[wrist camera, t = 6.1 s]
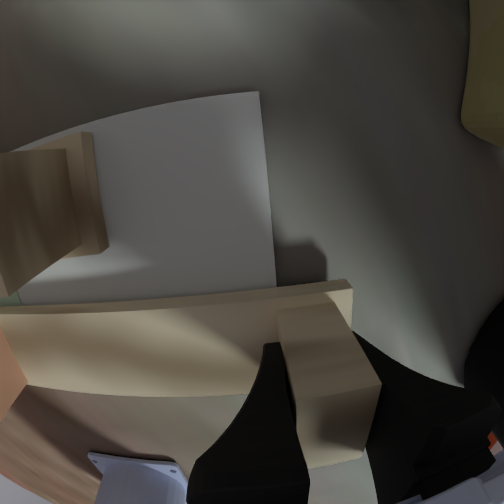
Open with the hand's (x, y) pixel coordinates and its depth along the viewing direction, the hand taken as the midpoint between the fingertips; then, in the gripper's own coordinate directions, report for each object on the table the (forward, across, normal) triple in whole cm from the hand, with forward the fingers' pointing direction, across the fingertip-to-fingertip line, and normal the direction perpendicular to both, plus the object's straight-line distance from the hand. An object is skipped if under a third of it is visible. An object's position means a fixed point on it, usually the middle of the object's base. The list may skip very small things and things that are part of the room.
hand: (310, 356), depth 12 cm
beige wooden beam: (+3, +10, 0) cm, 10 cm away
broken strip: (+3, +20, -8) cm, 22 cm away
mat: (+3, +17, -4) cm, 18 cm away
